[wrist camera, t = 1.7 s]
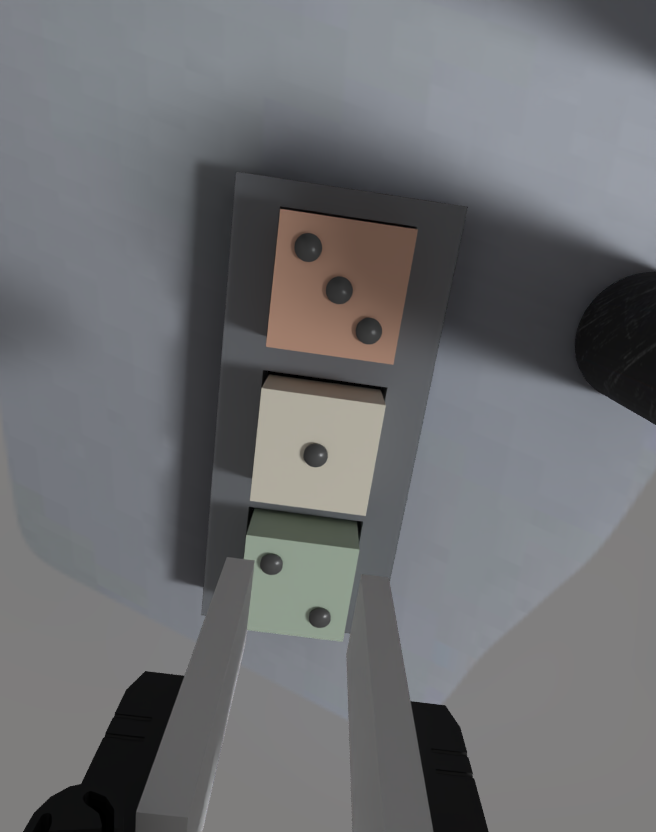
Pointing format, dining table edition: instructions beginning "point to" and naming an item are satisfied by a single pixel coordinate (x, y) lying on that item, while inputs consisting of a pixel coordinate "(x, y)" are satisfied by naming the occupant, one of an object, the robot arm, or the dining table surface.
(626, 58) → the dining table surface
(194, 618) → the dining table surface
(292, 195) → the keypad board
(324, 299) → the button three
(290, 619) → the button two
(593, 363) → the travel mug
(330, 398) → the button one
